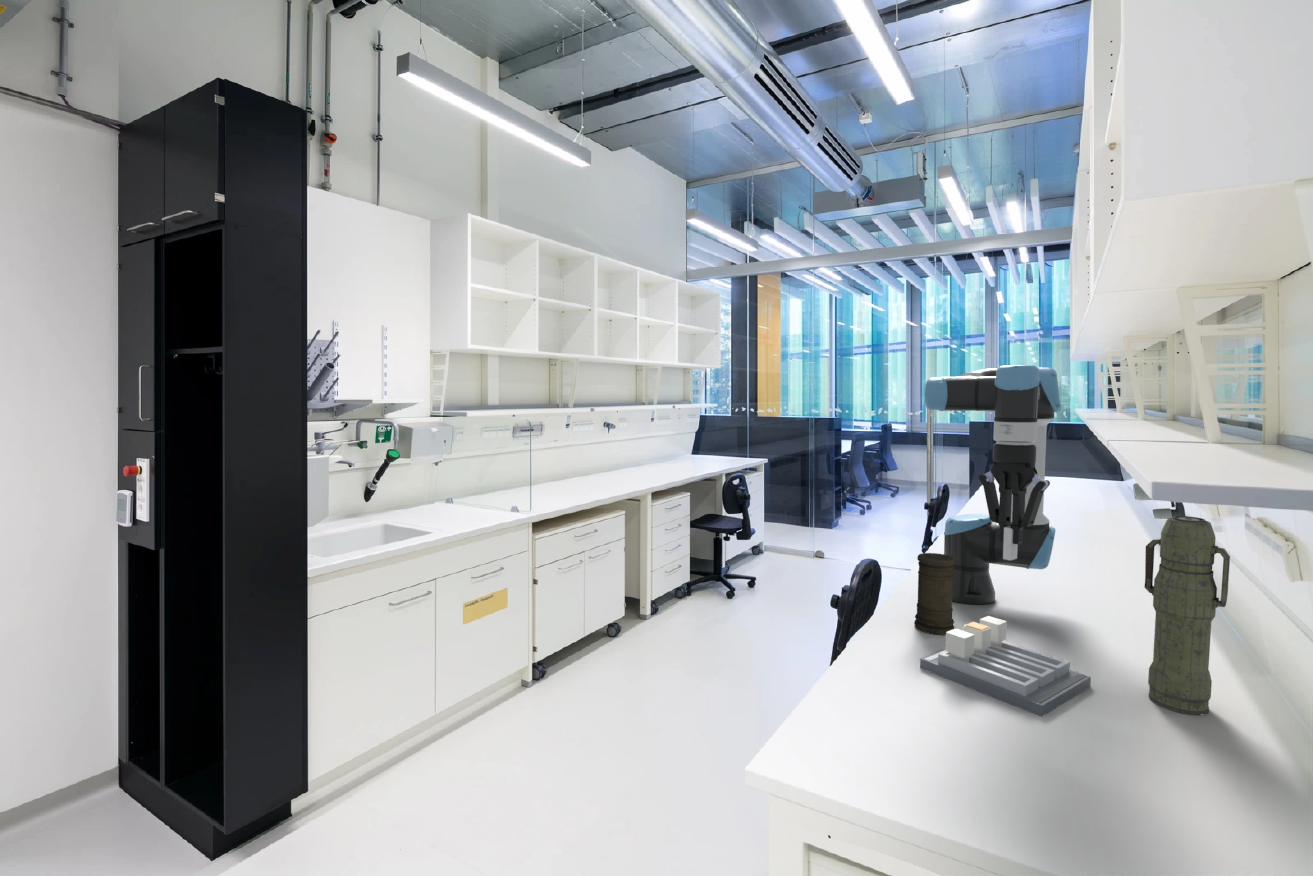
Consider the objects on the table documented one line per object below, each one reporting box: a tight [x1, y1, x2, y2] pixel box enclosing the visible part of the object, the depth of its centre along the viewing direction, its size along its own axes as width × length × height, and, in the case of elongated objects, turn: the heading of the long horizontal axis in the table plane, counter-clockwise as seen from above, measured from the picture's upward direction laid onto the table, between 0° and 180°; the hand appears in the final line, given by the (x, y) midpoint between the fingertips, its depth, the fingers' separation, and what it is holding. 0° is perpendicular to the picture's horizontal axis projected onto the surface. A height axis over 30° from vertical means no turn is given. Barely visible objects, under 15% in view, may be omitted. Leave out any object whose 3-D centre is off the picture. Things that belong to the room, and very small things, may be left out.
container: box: [913, 552, 956, 636], centre depth 152 cm, size 9×9×18 cm
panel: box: [919, 615, 1092, 717], centre depth 126 cm, size 20×24×9 cm
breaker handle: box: [962, 621, 991, 654], centre depth 131 cm, size 4×4×7 cm
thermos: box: [1143, 515, 1231, 716], centre depth 115 cm, size 9×12×35 cm
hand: (1010, 558), depth 126 cm, fingers closed
